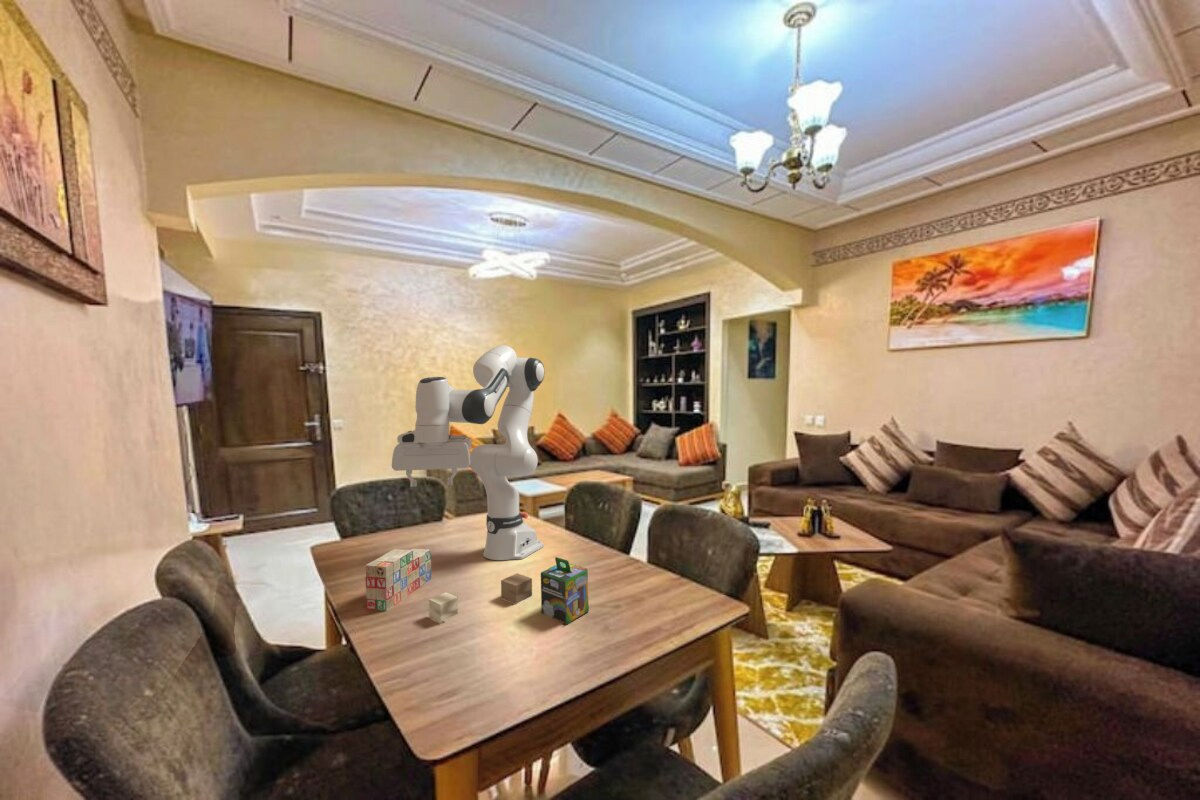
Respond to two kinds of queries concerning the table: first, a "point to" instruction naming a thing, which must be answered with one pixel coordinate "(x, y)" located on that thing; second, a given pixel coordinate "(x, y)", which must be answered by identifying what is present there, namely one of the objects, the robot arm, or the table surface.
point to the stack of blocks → (396, 577)
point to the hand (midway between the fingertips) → (431, 485)
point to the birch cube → (443, 607)
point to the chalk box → (564, 591)
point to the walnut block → (516, 588)
